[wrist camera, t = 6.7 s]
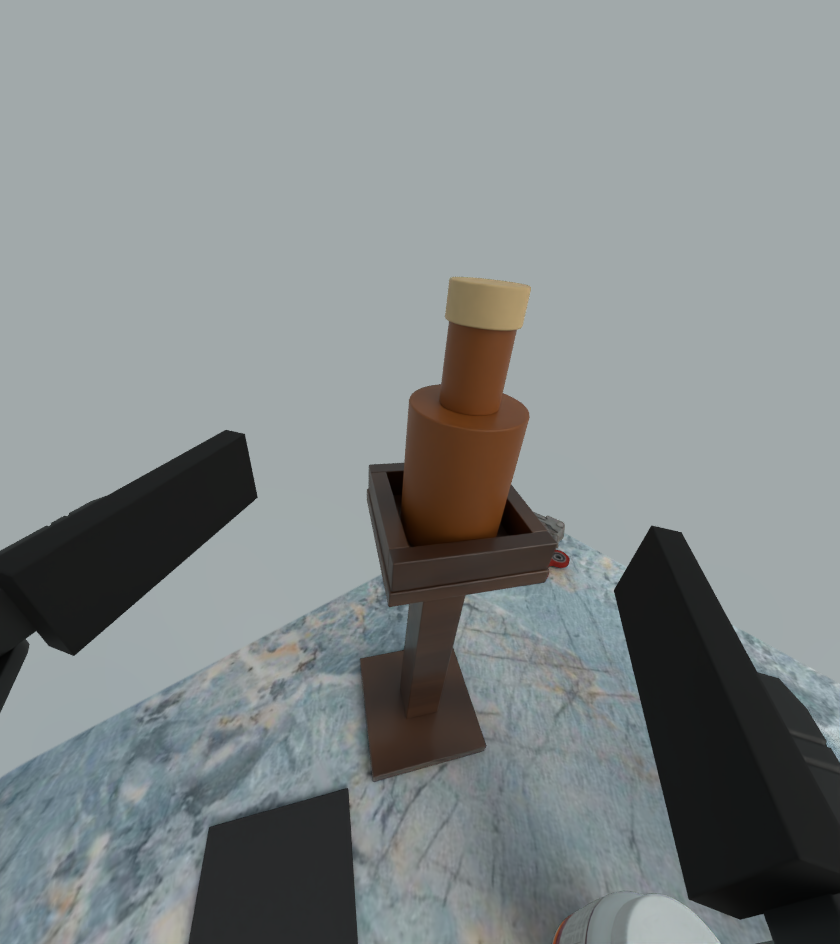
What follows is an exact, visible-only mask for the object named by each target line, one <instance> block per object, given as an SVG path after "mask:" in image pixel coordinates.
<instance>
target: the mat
mask: <svg viewBox="0 0 840 944" xmlns="http://www.w3.org/2000/svg"><path fill="white" fill-rule="evenodd" d="M189 944H358V938H357V922H356V906H355V890H354V874H353V858H352V842H351V826H350V810H349V794H348V788H346V789H343V790H339V791H336V792H332V793H328V794H325V795H321V796H318V797H314V798H311V799H307V800H304V801H300V802H297V803H293V804H290V805H286V806H282V807H279V808H275V809H272V810H268V811H265V812H261V813H258V814H254V815H251V816H247V817H243V818H240V819H236V820H233V821H229V822H226V823H222V824H219V825H215V826H212V827H209V831H208V837H207V843H206V848H205V854H204V860H203V865H202V871H201V877H200V882H199V888H198V894H197V899H196V905H195V911H194V916H193V922H192V928H191V933H190V939H189Z"/></svg>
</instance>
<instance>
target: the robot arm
mask: <svg viewBox="0 0 840 944" xmlns="http://www.w3.org/2000/svg"><path fill="white" fill-rule="evenodd" d="M256 498H257V492H256V487H255V482H254V477H253V472H252V468H251V462H250V457H249V452H248V448H247V443H246V438H245V434H242V433H238V432H233V431H229V430H225V431H223V432H221V433H219V434H217V435H216V436H214V437H212V438H210V439H208V440H207V441H205V442H203V443H201V444H199V445H198V446H196V447H194V448H192V449H190V450H189V451H187V452H185V453H183V454H182V455H180V456H178V457H176V458H174V459H172V460H171V461H169V462H167V463H165V464H164V465H162V466H160V467H158V468H156V469H155V470H153V471H151V472H149V473H147V474H145V475H144V476H142V477H140V478H139V479H136V480H135V481H133V482H131V483H129V484H127V485H126V486H124V487H122V488H120V489H118V490H116V491H115V492H113V493H111V494H110V495H108V496H105V497H102V498H99V499H96V500H93V501H91V502H89V503H87V504H85V505H83V506H81V507H80V508H78V509H76V510H74V511H72V512H70V513H69V515H68V516H63V517H61V518H59V519H58V520H56V521H54V522H52V523H51V525H50V526H45V527H43V528H41V529H40V530H37V531H36V532H34V533H32V534H30V535H29V536H26V537H25V538H23V539H21V540H19V541H17V542H16V543H14V544H12V545H10V546H8V547H6V548H5V549H3V550H1V551H0V712H1V710H2V708H3V706H4V703H5V701H6V699H7V697H8V695H9V693H10V690H11V688H12V686H13V683H14V682H15V679H16V677H17V675H18V673H19V671H20V669H21V666H22V664H23V662H24V660H25V657H26V655H27V653H28V649H29V643H28V642H27V640H26V638H27V637H29V636H30V635H31V634H33V633H34V632H35V631H37V632H38V633H39V634H40V636H41V637H42V638H43V639H44V641H45V642H46V643H47V644H48V645H49V646H51V647H53V648H55V649H58V650H60V651H63V652H66V653H68V654H70V655H73V656H74V655H76V654H77V653H78V652H79V651H80V650H81V649H83V648H84V647H85V646H86V645H87V644H88V643H90V642H91V641H92V640H93V639H94V638H95V637H96V636H98V635H99V634H100V633H101V632H102V631H103V630H105V628H107V627H108V626H109V625H110V624H112V623H113V622H114V621H115V620H116V619H117V618H118V617H120V616H121V615H122V614H123V613H124V612H125V611H126V610H128V609H129V608H130V607H131V606H132V605H134V604H135V603H136V602H137V601H138V600H139V599H141V598H142V597H143V596H144V595H145V594H146V593H147V592H148V591H150V590H151V589H152V588H153V587H154V586H156V585H157V584H158V583H159V582H160V581H161V580H162V579H164V578H165V577H166V576H167V575H168V574H169V573H171V572H172V571H173V570H174V569H175V568H176V567H177V566H179V565H180V564H181V563H182V562H183V561H184V560H186V559H187V558H188V557H189V556H190V555H192V554H193V553H194V552H195V551H196V550H197V549H198V548H200V547H201V546H202V545H203V544H204V543H205V542H207V541H208V540H209V539H210V538H211V537H212V536H213V535H215V534H216V533H217V532H218V531H219V530H220V529H222V528H223V527H224V526H225V525H226V524H227V523H229V521H231V520H232V519H233V518H234V517H236V516H237V515H238V514H239V513H240V512H241V511H242V510H244V509H245V508H246V507H247V506H248V505H249V504H251V503H252V502H253V501H254V500H255V499H256ZM614 593H615V597H616V601H617V605H618V609H619V614H620V618H621V622H622V626H623V630H624V634H625V638H626V642H627V647H628V651H629V655H630V659H631V663H632V667H633V671H634V675H635V680H636V684H637V688H638V692H639V696H640V700H641V704H642V708H643V713H644V717H645V721H646V725H647V729H648V733H649V737H650V741H651V746H652V750H653V754H654V758H655V762H656V766H657V770H658V774H659V779H660V783H661V787H662V791H663V795H664V799H665V803H666V807H667V812H668V816H669V820H670V824H671V828H672V832H673V836H674V840H675V845H676V849H677V853H678V857H679V861H680V865H681V869H682V873H683V878H684V882H685V886H686V890H687V894H688V898H689V900H692V901H694V902H697V903H699V904H702V905H704V906H707V907H709V908H712V909H714V910H717V911H720V912H722V913H725V914H727V915H730V916H732V917H735V918H737V919H740V920H741V919H745V918H749V917H753V916H756V915H760V914H764V916H765V919H766V922H767V924H768V927H769V930H770V933H771V936H772V939H773V941H768V942H762V943H757V944H840V762H839V761H838V759H837V758H836V756H835V754H834V753H833V751H832V749H831V748H828V747H827V746H826V742H827V741H826V739H825V738H824V736H823V734H822V733H821V731H820V730H819V728H818V726H817V725H816V723H815V721H814V720H813V718H812V716H811V715H810V713H809V711H808V710H807V708H806V707H805V706H804V705H803V704H802V703H801V702H800V701H799V700H798V699H797V698H796V696H795V695H794V694H793V693H792V692H791V691H790V690H789V689H788V688H787V687H786V686H785V685H784V684H783V682H782V681H781V680H780V679H779V678H775V677H772V676H768V675H765V674H761V673H758V672H757V671H756V669H755V667H754V665H753V664H752V662H751V660H750V658H749V656H748V654H747V653H746V651H745V649H744V647H743V645H742V643H741V641H740V640H739V638H738V636H737V634H736V632H735V630H734V629H733V627H732V625H731V623H730V621H729V619H728V617H727V616H726V614H725V612H724V610H723V609H722V607H721V605H720V603H719V601H718V599H717V597H716V596H715V594H714V592H713V590H712V588H711V586H710V584H709V582H708V581H707V579H706V577H705V575H704V573H703V571H702V570H701V568H700V566H699V564H698V562H697V560H696V559H695V556H694V555H693V553H692V551H691V549H690V547H689V546H688V544H687V542H686V540H685V538H684V536H683V534H682V532H678V531H673V530H669V529H664V528H660V527H655V526H651V527H650V529H649V531H648V533H647V534H646V536H645V538H644V540H643V541H642V543H641V545H640V546H639V548H638V550H637V551H636V553H635V555H634V557H633V558H632V560H631V562H630V564H629V565H628V567H627V569H626V570H625V572H624V574H623V575H622V577H621V579H620V581H619V582H618V584H617V586H616V587H615V589H614Z"/></svg>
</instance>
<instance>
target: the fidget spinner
mask: <svg viewBox="0 0 840 944" xmlns="http://www.w3.org/2000/svg"><path fill="white" fill-rule="evenodd" d="M557 558H558V559H557ZM569 561H570V559H569V557H568V556H567V555H566V554H565V553H564V552H562V551H559V550H555V552H554V554H553V556H552V559H551V561H550V564H549V566H555V567H559V568H564V567H567V566H568V564H569ZM548 575H549V573H548ZM547 577H548V576H547ZM546 579H547V578H546Z"/></svg>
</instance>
